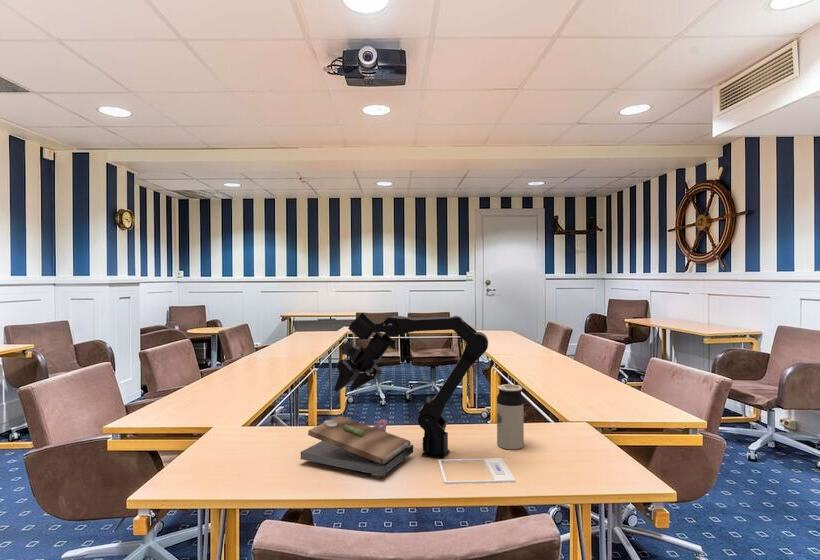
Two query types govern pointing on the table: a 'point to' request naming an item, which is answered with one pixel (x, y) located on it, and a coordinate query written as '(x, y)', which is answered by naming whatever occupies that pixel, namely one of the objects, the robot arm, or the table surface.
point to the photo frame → (494, 467)
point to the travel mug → (510, 417)
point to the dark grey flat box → (351, 459)
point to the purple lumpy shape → (381, 425)
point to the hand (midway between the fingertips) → (343, 390)
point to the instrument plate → (360, 439)
